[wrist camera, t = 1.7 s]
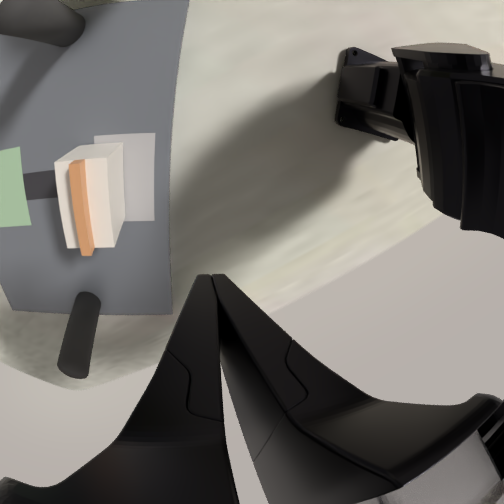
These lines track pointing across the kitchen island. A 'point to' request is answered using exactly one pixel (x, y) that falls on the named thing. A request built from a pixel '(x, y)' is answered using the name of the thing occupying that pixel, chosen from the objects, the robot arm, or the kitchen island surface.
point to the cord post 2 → (79, 336)
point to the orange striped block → (91, 195)
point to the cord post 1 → (41, 21)
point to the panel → (85, 133)
